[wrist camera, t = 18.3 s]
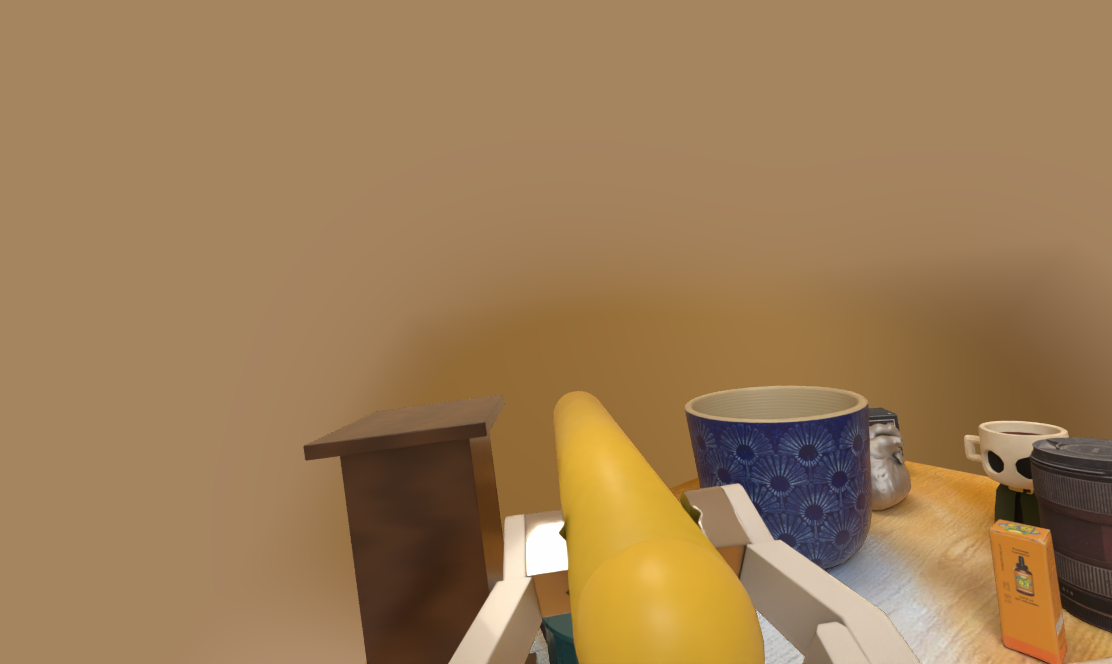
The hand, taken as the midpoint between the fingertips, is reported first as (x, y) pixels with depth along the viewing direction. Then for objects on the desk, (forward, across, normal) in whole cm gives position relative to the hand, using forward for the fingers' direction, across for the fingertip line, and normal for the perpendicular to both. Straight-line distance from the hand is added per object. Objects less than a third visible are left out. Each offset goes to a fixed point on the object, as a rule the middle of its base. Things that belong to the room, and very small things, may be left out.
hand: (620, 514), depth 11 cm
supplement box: (+7, -36, +35) cm, 50 cm away
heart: (+30, -44, +48) cm, 72 cm away
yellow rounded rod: (+4, 0, +5) cm, 6 cm away
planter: (+23, -26, +44) cm, 56 cm away
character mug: (+19, -53, +42) cm, 70 cm away
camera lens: (+8, -46, +36) cm, 59 cm away
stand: (+7, +12, +34) cm, 37 cm away
